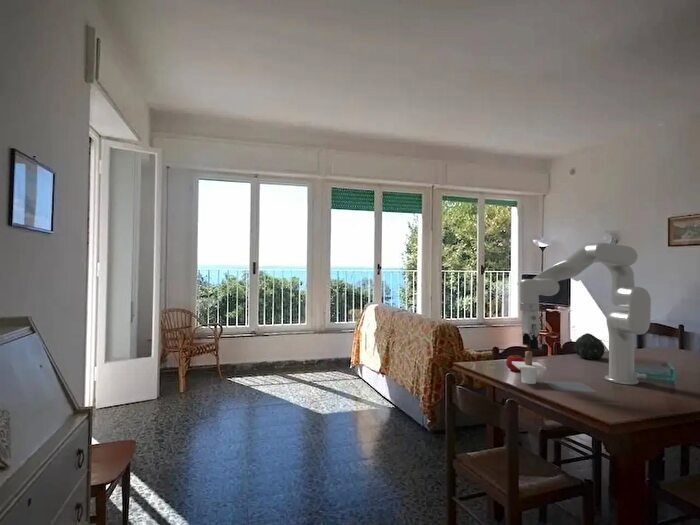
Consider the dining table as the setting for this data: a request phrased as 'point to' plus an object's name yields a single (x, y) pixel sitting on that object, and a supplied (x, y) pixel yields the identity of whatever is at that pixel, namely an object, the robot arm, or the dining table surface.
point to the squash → (589, 347)
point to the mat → (569, 386)
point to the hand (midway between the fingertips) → (530, 346)
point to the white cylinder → (528, 376)
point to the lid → (528, 363)
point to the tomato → (514, 358)
